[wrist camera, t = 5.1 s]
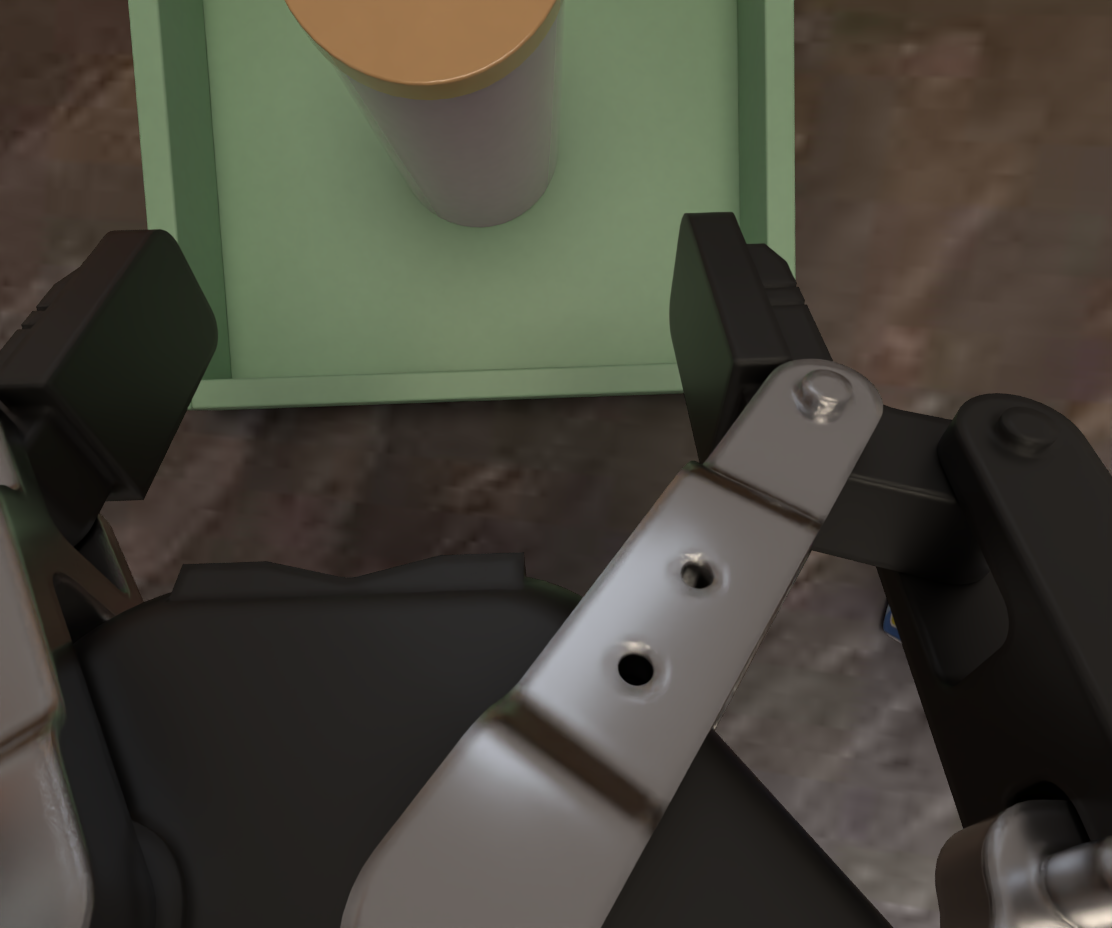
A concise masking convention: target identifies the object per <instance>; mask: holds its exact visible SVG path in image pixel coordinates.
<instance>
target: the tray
mask: <svg viewBox="0 0 1112 928" xmlns="http://www.w3.org/2000/svg"><path fill="white" fill-rule="evenodd" d="M128 5H129V16H130V28H131V40H132V51H133V63H134V75H135V86H136V98H137V109H138V121H139V133H140V144H141V156H142V167H143V179H144V191H145V202H146V214H147V225H148V230H151V229H162V230H165V231H167V232H168V233H170V234H171V235H172V236H173V237H174V239H175V240H176V241H177V243H178V245H179V246H180V248H181V250H182V252H183V254H184V256H185V258H186V260H187V262H188V264H189V266H190V268H191V270H192V272H193V274H194V276H195V278H196V280H197V282H198V283H199V285H200V287H201V289H202V291H203V293H204V295H205V297H206V299H207V301H208V303H209V305H210V307H211V309H212V311H213V313H214V316H215V319H216V322H217V328H218V344H217V348H216V351H215V353H214V355H213V357H212V359H211V361H210V363H209V365H208V367H207V369H206V371H205V374H204V376H203V378H202V380H201V382H200V384H199V386H198V388H197V390H196V392H195V394H194V396H193V398H192V401H191V403H190V405H189V407H188V409H187V410H237V409H265V408H292V407H320V406H347V405H375V404H402V403H430V402H458V401H485V400H513V399H540V398H568V397H595V396H623V395H650V394H678V393H684V392H683V387H682V383H681V379H680V374H679V370H678V365H677V361H676V357H675V352H674V348H673V343H672V339H671V334H670V325H669V304H670V294H671V287H672V280H673V272H674V265H675V258H676V251H677V243H678V236H679V229H680V224H681V220H682V217H683V215H684V214H685V213H703V212H733V213H734V215H735V217H736V219H737V222H738V224H739V227H740V229H741V232H742V234H743V236H744V239H745V241H746V244H760V243H765V244H766V245H767V246H769V247H770V248H771V249H772V250H773V251H775V252H776V253H777V254H778V255H779V256H781V257H782V258H783V259H784V260H785V261H787V263H788V265H789V268H790V270H791V272H792V274H793V276H794V278H795V124H794V0H565V10H564V36H563V62H562V88H561V114H560V140H559V155H558V162H557V166H556V169H555V172H554V175H553V177H552V180H551V182H550V184H549V186H548V187H547V189H546V191H545V192H544V194H543V195H542V196H541V197H540V199H539V200H538V201H537V202H536V203H535V204H534V205H533V206H532V207H531V208H530V209H529V210H527V211H526V212H525V213H523V214H522V215H520V216H519V217H517V218H515V219H513V220H511V221H508V222H506V223H503V224H500V225H496V226H491V227H467V226H461V225H457V224H454V223H451V222H448V221H446V220H444V219H442V218H440V217H438V216H437V215H435V214H433V213H432V212H430V211H429V210H428V209H427V208H426V207H424V206H423V205H422V204H421V203H420V202H419V201H418V200H417V198H416V197H415V196H414V195H413V193H412V192H411V191H410V189H409V188H408V186H407V185H406V183H405V181H404V180H403V178H402V177H401V175H400V173H399V172H398V170H397V169H396V167H395V166H394V164H393V162H392V161H391V159H390V158H389V156H388V154H387V153H386V151H385V150H384V148H383V146H382V145H381V143H380V142H379V140H378V139H377V137H376V135H375V134H374V132H373V131H372V129H371V127H370V126H369V124H368V123H367V121H366V119H365V118H364V116H363V115H362V113H361V112H360V110H359V108H358V107H357V105H356V104H355V102H354V100H353V99H352V97H351V96H350V94H349V92H348V91H347V89H346V88H345V86H344V85H343V83H342V81H341V80H340V78H339V77H338V75H337V73H336V72H335V70H334V69H333V67H332V65H331V64H330V62H329V61H328V60H327V59H326V58H325V57H324V56H323V55H322V54H321V52H320V51H319V50H318V49H317V48H316V47H315V46H314V45H313V44H312V42H311V41H310V40H309V38H308V37H307V35H306V34H305V33H304V31H303V30H302V28H301V27H300V25H299V24H298V22H297V21H296V19H295V18H294V16H293V15H292V13H291V11H290V10H289V8H288V6H287V4H286V2H285V1H284V0H128Z"/></svg>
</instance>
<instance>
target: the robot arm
mask: <svg viewBox="0 0 1112 928" xmlns="http://www.w3.org/2000/svg"><path fill="white" fill-rule="evenodd" d="M804 301H805V300H804V298H803V295H802V293H801V291H800V289H799V287H796V280H795V278H794V276H793V274H792V272H791V270H790V268H789V265H788V263H787V261H785V260H784V259H783V258H782V257H781V256H779V255H778V254H777V253H776V252H775V251H773V250H772V249H771V248H770V247H769V246H767V245H766V244H765V243H760V244H746V241H745V239H744V236H743V234H742V232H741V229H740V227H739V224H738V222H737V219H736V217H735V215H734V213H733V212H703V213H685V214H684V215H683V217H682V220H681V224H680V229H679V236H678V243H677V251H676V258H675V265H674V272H673V280H672V287H671V294H670V304H669V325H670V334H671V339H672V343H673V348H674V352H675V357H676V361H677V365H678V370H679V374H680V379H681V383H682V387H683V392H684V396H685V401H686V405H687V409H688V414H689V418H690V423H691V427H692V431H693V436H694V440H695V445H696V449H697V453H698V458H699V462H700V463H698V462H696V461H690V462H689V463H687V464H686V465H685V466H684V467H683V468H682V469H681V470H680V471H679V473H678V474H677V475H676V476H675V478H674V479H673V480H672V482H671V483H670V484H669V486H668V487H667V488H666V490H665V491H664V492H663V493H662V495H661V496H660V497H659V499H658V500H657V501H656V503H655V504H654V505H653V507H652V508H651V509H650V510H649V512H648V513H647V514H646V516H645V517H644V518H643V520H642V521H641V522H640V524H639V525H638V526H637V528H636V529H635V530H634V531H633V533H632V534H631V535H630V537H629V538H628V539H627V541H626V542H625V543H624V545H623V546H622V547H621V549H620V550H619V551H618V552H617V554H616V555H615V556H614V558H613V559H612V560H611V562H610V563H609V564H608V566H607V567H606V568H605V570H604V571H603V572H602V573H601V575H600V576H599V577H598V579H597V580H596V581H595V583H594V584H593V585H592V587H591V588H590V589H589V590H588V592H587V593H586V594H585V596H584V597H581V596H580V595H578V594H576V593H574V592H572V591H570V590H567V589H565V588H563V587H561V586H558V585H555V584H552V583H549V582H546V581H543V580H539V579H534V578H530V577H526V570H525V560H524V552H522V553H494V554H465V555H440V556H436V557H432V558H428V559H424V560H420V561H416V562H412V563H409V564H405V565H401V566H397V567H393V568H389V569H385V570H381V571H378V572H374V573H370V574H366V575H362V576H358V577H351V578H345V577H338V576H334V575H329V574H324V573H319V572H315V571H310V570H305V569H300V568H296V567H291V566H286V565H281V564H277V563H272V562H267V561H265V562H237V563H208V564H183V565H182V568H181V570H180V573H179V575H178V578H177V580H176V583H175V585H174V588H173V590H172V592H171V593H167V594H165V595H162V596H159V597H156V598H154V599H151V600H148V601H145V602H144V601H143V599H142V597H141V594H140V592H139V590H138V587H137V585H136V583H135V580H134V578H133V576H132V574H131V571H130V569H129V567H128V564H127V562H126V560H125V557H124V555H123V553H122V550H121V548H120V546H119V543H118V541H117V539H116V536H115V534H114V532H113V530H112V527H111V525H110V524H109V522H108V521H107V520H106V519H105V518H104V517H103V516H102V515H101V514H100V513H99V512H100V510H101V509H102V507H103V505H104V503H105V501H125V500H144V498H145V496H146V494H147V492H148V490H149V488H150V486H151V484H152V481H153V479H154V477H155V475H156V473H157V471H158V469H159V467H160V465H161V463H162V461H163V459H164V457H165V454H166V452H167V450H168V448H169V446H170V444H171V442H172V440H173V438H174V436H175V434H176V432H177V430H178V428H179V425H180V423H181V421H182V419H183V417H184V415H185V413H186V411H187V409H188V407H189V405H190V403H191V401H192V398H193V396H194V394H195V392H196V390H197V388H198V386H199V384H200V382H201V380H202V378H203V376H204V374H205V371H206V369H207V367H208V365H209V363H210V361H211V359H212V357H213V355H214V353H215V351H216V348H217V344H218V328H217V322H216V319H215V316H214V313H213V311H212V309H211V307H210V305H209V303H208V301H207V299H206V297H205V295H204V293H203V291H202V289H201V287H200V285H199V283H198V282H197V280H196V278H195V276H194V274H193V272H192V270H191V268H190V266H189V264H188V262H187V260H186V258H185V256H184V254H183V252H182V250H181V248H180V246H179V245H178V243H177V241H176V240H175V239H174V237H173V236H172V235H171V234H170V233H168V232H167V231H165V230H162V229H151V230H121V231H110V232H108V233H107V234H106V235H105V236H104V237H103V239H102V240H101V241H100V242H99V244H98V245H97V246H96V247H95V249H94V250H93V251H92V252H91V254H90V255H89V256H88V257H87V259H86V260H85V261H84V262H83V264H82V265H81V266H80V267H79V268H78V269H76V270H75V271H73V272H72V273H70V274H69V275H67V276H66V277H65V278H63V279H62V280H60V281H59V282H57V283H56V284H54V285H53V287H52V288H51V289H50V290H49V291H48V293H47V294H46V295H45V296H44V298H43V299H42V300H41V301H40V303H39V304H38V305H37V306H36V308H37V311H32V312H31V314H30V315H29V316H28V317H27V318H26V320H25V321H24V322H23V323H22V329H21V330H17V331H16V332H15V333H14V334H13V336H12V337H11V338H10V339H9V341H8V342H7V343H6V344H5V345H4V347H3V348H2V349H1V350H0V928H893V927H892V926H891V924H890V923H889V922H888V921H887V920H886V919H885V918H884V917H883V915H882V914H881V913H880V912H879V911H878V910H877V909H876V908H875V907H874V906H873V904H872V903H871V902H870V901H869V900H868V899H867V898H866V897H865V896H864V895H863V893H862V892H861V891H860V890H859V889H858V888H857V887H856V886H855V885H854V884H853V882H852V881H851V880H850V879H849V878H848V877H847V876H846V875H845V874H844V873H843V871H842V870H841V869H840V868H839V867H838V866H837V865H836V864H835V863H834V862H833V860H832V859H831V858H830V857H829V856H828V855H827V854H826V853H825V852H824V851H823V849H822V848H821V847H820V846H819V845H818V844H817V843H816V842H815V841H814V840H813V838H812V837H811V836H810V835H809V834H808V833H807V832H806V831H805V830H804V829H803V827H802V826H801V825H800V824H799V823H798V822H797V821H796V820H795V819H794V818H793V816H792V815H791V814H790V813H789V812H788V811H787V810H786V809H785V808H784V807H783V805H782V804H781V803H780V802H779V801H778V800H777V799H776V798H775V797H774V796H773V794H772V793H771V792H770V791H769V790H768V789H767V788H766V787H765V786H764V785H763V783H762V782H761V781H760V780H759V779H758V778H757V777H756V776H755V775H754V774H753V772H752V771H751V770H750V769H749V768H748V767H747V766H746V765H745V764H744V763H743V761H742V760H741V759H740V758H739V757H738V756H737V755H736V754H735V753H734V752H733V750H732V749H731V748H730V747H729V746H728V745H727V744H726V743H725V742H724V741H723V740H722V738H721V737H720V736H719V735H718V734H717V733H716V732H715V729H716V728H717V726H718V724H719V722H720V720H721V718H722V717H723V715H724V713H725V711H726V709H727V707H728V705H729V704H730V702H731V700H732V698H733V696H734V694H735V692H736V691H737V689H738V687H739V685H740V683H741V681H742V679H743V677H744V676H745V674H746V672H747V670H748V668H749V666H750V664H751V662H752V660H753V659H754V657H755V655H756V653H757V651H758V649H759V647H760V645H761V644H762V642H763V640H764V638H765V636H766V634H767V632H768V631H769V629H770V627H771V625H772V623H773V621H774V619H775V618H776V616H777V614H778V612H779V610H780V608H781V607H782V605H783V603H784V601H785V599H786V597H787V595H788V594H789V592H790V590H791V588H792V586H793V584H794V582H795V581H796V579H797V577H798V575H799V573H800V571H801V570H802V568H803V566H804V564H805V562H806V560H807V558H808V557H809V555H810V553H811V551H812V550H813V551H817V552H821V553H825V554H829V555H833V556H837V557H841V558H845V559H849V560H853V561H857V562H861V563H865V564H869V565H873V566H876V568H877V571H878V574H879V577H880V580H881V583H882V586H883V589H884V592H885V595H886V598H887V601H888V604H889V607H890V610H891V613H892V616H893V619H894V622H895V625H896V628H897V631H898V634H899V637H900V640H901V643H902V646H903V649H904V652H905V655H906V658H907V661H908V664H909V667H910V670H911V673H912V676H913V679H914V682H915V685H916V688H917V691H918V694H919V697H920V700H921V703H922V706H923V709H924V712H925V715H926V718H927V721H928V724H929V727H930V730H931V733H932V736H933V739H934V742H935V745H936V748H937V751H938V754H939V757H940V760H941V763H942V766H943V769H944V772H945V775H946V778H947V781H948V784H949V787H950V790H951V793H952V796H953V799H954V802H955V805H956V808H957V811H958V814H959V817H960V820H961V823H962V826H963V829H962V830H960V831H958V832H957V833H955V834H954V835H952V836H951V837H950V838H949V839H948V840H947V841H946V843H945V844H944V846H943V847H942V849H941V851H940V854H939V856H938V859H937V864H936V870H935V886H936V892H937V898H938V905H939V911H940V928H1112V476H1111V475H1110V473H1109V472H1108V470H1107V469H1106V467H1105V466H1104V464H1103V463H1102V461H1101V460H1100V458H1099V457H1098V455H1097V454H1096V453H1095V451H1094V450H1093V448H1092V447H1091V445H1090V444H1089V442H1088V441H1087V439H1086V438H1085V436H1084V435H1083V434H1082V432H1081V431H1080V430H1079V429H1078V428H1077V427H1076V426H1075V425H1074V424H1073V423H1072V422H1071V421H1070V420H1069V419H1067V418H1066V417H1065V416H1063V415H1062V414H1061V413H1059V412H1057V411H1056V410H1054V409H1052V408H1050V407H1048V406H1046V405H1044V404H1042V403H1040V402H1037V401H1034V400H1032V399H1028V398H1025V397H1021V396H1016V395H1011V394H1000V393H995V394H984V395H979V396H976V397H974V398H971V399H970V400H968V401H966V402H965V403H964V404H963V405H962V406H961V407H960V409H959V410H958V412H957V414H956V415H955V417H954V418H953V420H949V419H944V418H939V417H934V416H929V415H923V414H918V413H913V412H908V411H903V410H899V409H895V408H891V407H888V406H885V405H883V403H882V398H881V396H880V394H879V392H878V390H877V389H876V388H875V386H874V385H873V384H872V383H871V382H870V381H869V380H868V379H867V378H866V377H864V376H863V375H862V374H860V373H859V372H857V371H855V370H853V369H852V368H849V367H847V366H845V365H842V364H839V363H836V362H833V360H832V358H831V356H830V354H829V351H828V349H827V347H826V345H825V343H824V341H823V338H822V336H821V334H820V332H819V330H818V328H817V326H816V323H815V321H814V319H813V317H812V315H811V313H810V311H809V308H808V306H807V305H804Z"/></svg>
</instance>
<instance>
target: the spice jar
mask: <svg viewBox="0 0 1112 928" xmlns="http://www.w3.org/2000/svg"><path fill="white" fill-rule="evenodd" d="M284 1H285V2H286V4H287V6H288V8H289V10H290V11H291V13H292V15H293V16H294V18H295V19H296V21H297V22H298V24H299V25H300V27H301V28H302V30H303V31H304V33H305V34H306V35H307V37H308V38H309V40H310V41H311V42H312V44H313V45H314V46H315V47H316V48H317V49H318V50H319V51H320V52H321V54H322V55H323V56H324V57H325V58H326V59H327V60H328V61H329V62H330V64H331V65H332V67H333V69H334V70H335V72H336V73H337V75H338V77H339V78H340V80H341V81H342V83H343V85H344V86H345V88H346V89H347V91H348V92H349V94H350V96H351V97H352V99H353V100H354V102H355V104H356V105H357V107H358V108H359V110H360V112H361V113H362V115H363V116H364V118H365V119H366V121H367V123H368V124H369V126H370V127H371V129H372V131H373V132H374V134H375V135H376V137H377V139H378V140H379V142H380V143H381V145H382V146H383V148H384V150H385V151H386V153H387V154H388V156H389V158H390V159H391V161H392V162H393V164H394V166H395V167H396V169H397V170H398V172H399V173H400V175H401V177H402V178H403V180H404V181H405V183H406V185H407V186H408V188H409V189H410V191H411V192H412V193H413V195H414V196H415V197H416V198H417V200H418V201H419V202H420V203H421V204H422V205H423V206H424V207H426V208H427V209H428V210H429V211H430V212H432V213H433V214H435V215H437V216H438V217H440V218H442V219H444V220H446V221H448V222H451V223H454V224H457V225H461V226H467V227H491V226H496V225H500V224H503V223H506V222H508V221H511V220H513V219H515V218H517V217H519V216H520V215H522V214H523V213H525V212H526V211H527V210H529V209H530V208H531V207H532V206H533V205H534V204H535V203H536V202H537V201H538V200H539V199H540V197H541V196H542V195H543V194H544V192H545V191H546V189H547V187H548V186H549V184H550V182H551V180H552V177H553V175H554V172H555V169H556V166H557V162H558V155H559V140H560V114H561V88H562V62H563V36H564V10H565V0H284Z"/></svg>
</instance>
